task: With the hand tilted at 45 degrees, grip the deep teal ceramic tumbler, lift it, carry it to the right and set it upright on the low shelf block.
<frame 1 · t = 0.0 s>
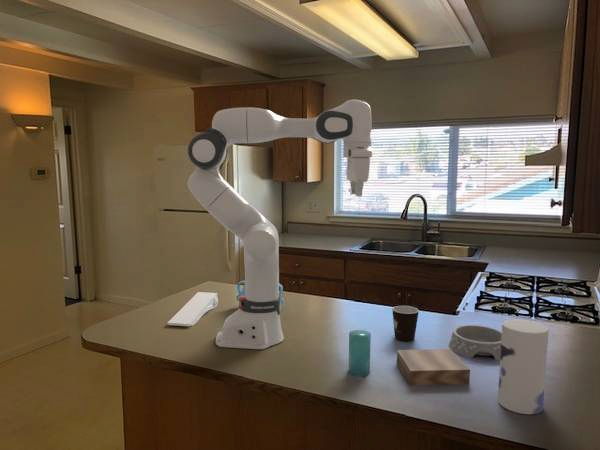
hand: (356, 195, 153), 48 cm above the counter, tool pointing down, fingers open, 8 cm apart
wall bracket: (194, 316, 182), on the counter
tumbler: (359, 371, 133), on the counter
shelf: (431, 373, 132), on the counter
dog bowl: (478, 350, 150), on the counter
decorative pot: (260, 309, 190), on the counter
container: (519, 405, 115), on the counter
coffee mug: (404, 337, 160), on the counter
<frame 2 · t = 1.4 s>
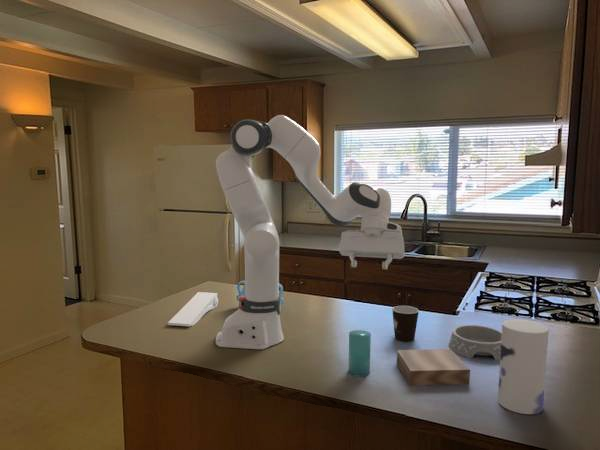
hand: (368, 267, 143), 27 cm above the counter, tool tilted 45°, fingers open, 8 cm apart
nothing on the counter moved.
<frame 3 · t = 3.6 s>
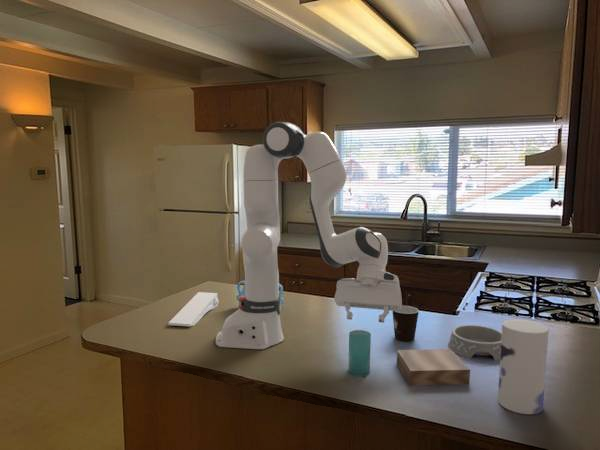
hand: (365, 320, 139), 12 cm above the counter, tool tilted 45°, fingers open, 8 cm apart
nothing on the counter moved.
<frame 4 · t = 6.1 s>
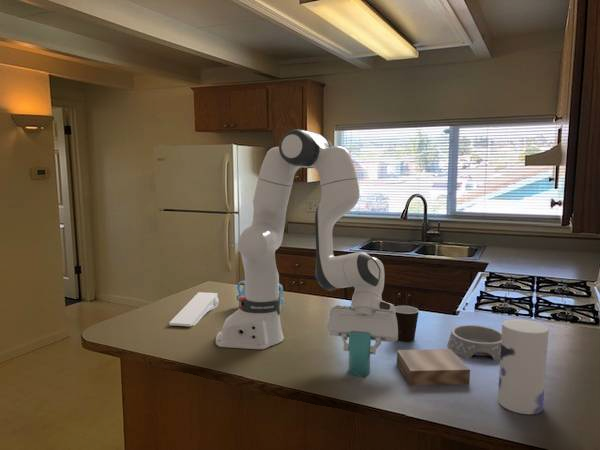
hand: (359, 352, 132), 6 cm above the counter, tool tilted 45°, fingers closed on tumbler, 6 cm apart
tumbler: (359, 371, 133), on the counter, touching gripper
everything else where it was.
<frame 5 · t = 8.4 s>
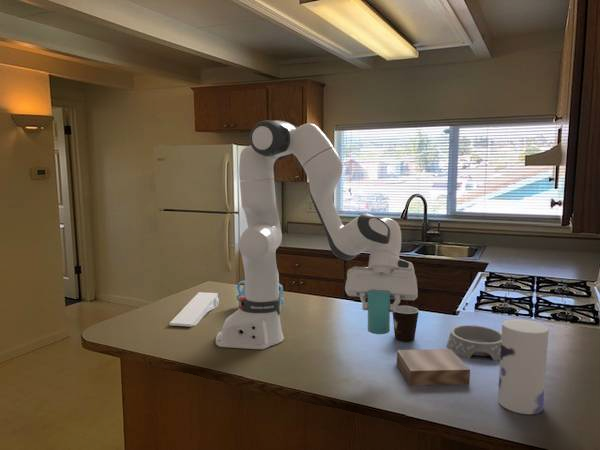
hand: (378, 310, 130), 18 cm above the counter, tool tilted 45°, fingers closed on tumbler, 6 cm apart
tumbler: (378, 330, 131), point 12 cm above the counter, touching gripper
everything else where it was.
when the fingers open (11 cm above the counter, at t = 10.9 s): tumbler drops 1 cm, resting on shelf.
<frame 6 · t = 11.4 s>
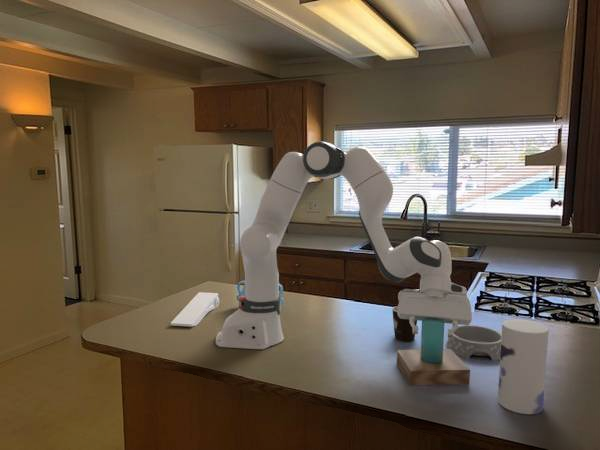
hand: (432, 334, 130), 11 cm above the counter, tool tilted 45°, fingers open, 8 cm apart
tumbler: (431, 359, 131), point 4 cm above the counter, touching shelf
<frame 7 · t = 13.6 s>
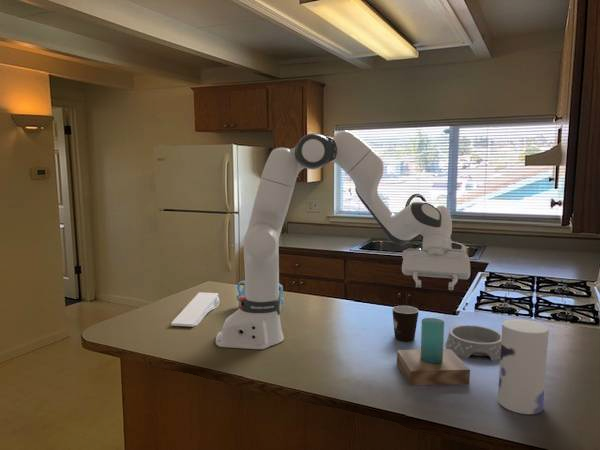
hand: (434, 287, 141), 21 cm above the counter, tool tilted 45°, fingers open, 8 cm apart
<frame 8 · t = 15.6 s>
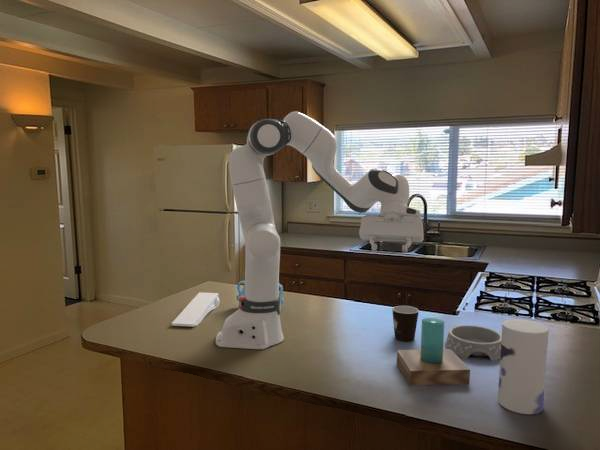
hand: (389, 250, 147), 31 cm above the counter, tool tilted 45°, fingers open, 8 cm apart
at the end: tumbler inside the target area on the shelf (0.1 cm from its centre), point 4.0 cm above the shelf's base; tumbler tilted 0°; the gripper is holding nothing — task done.
